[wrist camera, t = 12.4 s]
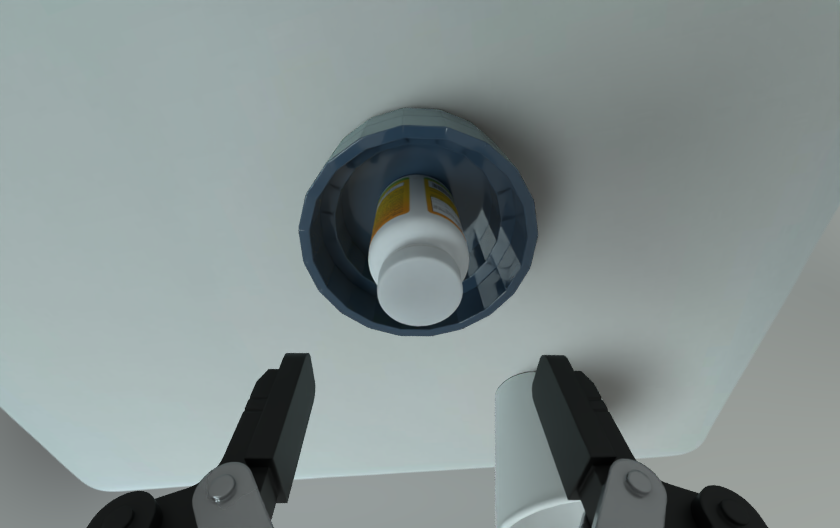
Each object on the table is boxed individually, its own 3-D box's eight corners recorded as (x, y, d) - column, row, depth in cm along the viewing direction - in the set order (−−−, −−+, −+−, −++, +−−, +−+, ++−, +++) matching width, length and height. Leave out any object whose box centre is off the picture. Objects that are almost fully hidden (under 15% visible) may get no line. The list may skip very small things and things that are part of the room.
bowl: (311, 102, 21) (281, 120, 16) (527, 110, 22) (563, 130, 17) (331, 282, 28) (314, 335, 23) (495, 285, 29) (514, 337, 24)
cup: (446, 405, 37) (461, 550, 26) (528, 334, 32) (587, 478, 21) (528, 442, 40) (570, 583, 30) (612, 384, 36) (698, 527, 25)
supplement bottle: (379, 245, 26) (364, 338, 18) (375, 172, 23) (356, 243, 15) (452, 245, 26) (472, 338, 18) (458, 172, 23) (485, 243, 15)
